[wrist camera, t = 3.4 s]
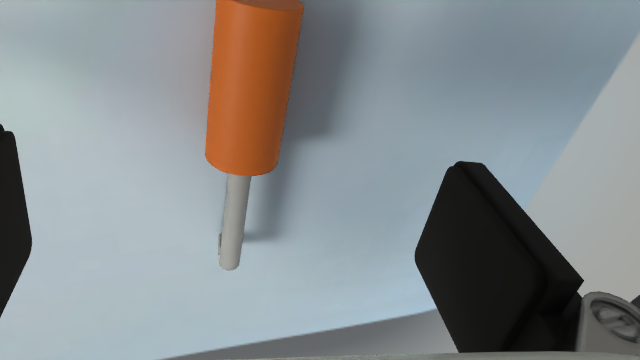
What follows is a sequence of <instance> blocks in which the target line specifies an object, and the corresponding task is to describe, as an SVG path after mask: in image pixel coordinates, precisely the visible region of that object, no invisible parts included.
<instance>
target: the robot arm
mask: <svg viewBox="0 0 640 360" xmlns="http://www.w3.org/2000/svg"><path fill="white" fill-rule="evenodd" d="M31 247H32V237H31V231H30V225H29V219H28V213H27V207H26V201H25V195H24V189H23V183H22V177H21V171H20V165H19V159H18V153H17V147H16V141H15V136H14V134H13V133H12V132H11V131H4V128H3V126H2V125H1V124H0V317H1V315H2V313H3V311H4V308H5V306H6V304H7V302H8V300H9V298H10V296H11V294H12V292H13V289H14V287H15V285H16V283H17V281H18V279H19V277H20V275H21V273H22V270H23V268H24V266H25V264H26V262H27V260H28V258H29V255H30V252H31ZM415 263H416V265H417V267H418V269H419V271H420V274H421V276H422V278H423V280H424V282H425V284H426V286H427V288H428V290H429V292H430V294H431V296H432V298H433V300H434V302H435V304H436V306H437V309H438V311H439V313H440V315H441V317H442V319H443V320H444V323H445V325H446V327H447V329H448V331H449V333H450V335H451V337H452V339H453V341H454V344H455V345H456V348H457V350H458V352H459V353H439V354H401V355H400V354H399V355H362V356H329V357H296V358H263V359H235V360H640V309H638V308H637V307H636V306H634V305H633V304H631V303H629V302H628V301H626V300H624V299H622V298H620V297H617V296H615V295H612V294H609V293H604V292H599V291H598V292H590V293H588V294H586V295H584V297H583V298H582V297H581V296H580V295H579V293H578V292H577V290H578V289H579V287H580V286H581V284H582V283H583V282H584V280H583V279H582V278H581V276H580V275H579V274H578V273H577V272H576V271H575V269H574V268H573V267H572V266H571V265H570V264H569V262H568V261H567V260H566V259H565V258H564V257H563V256H562V255H561V253H560V252H559V251H558V250H557V249H556V247H555V246H554V245H553V244H552V243H551V242H550V240H549V239H548V238H547V237H546V236H545V235H544V234H543V232H542V231H541V230H540V229H539V228H538V227H537V226H536V225H535V223H534V222H533V221H532V220H531V218H530V217H529V216H528V215H527V214H526V213H525V212H524V210H523V209H522V208H521V207H520V206H519V205H518V203H517V202H516V201H515V200H514V199H513V198H512V196H511V195H510V194H509V193H508V192H507V191H506V190H505V188H504V187H503V186H502V185H501V184H500V183H499V181H498V180H497V179H496V178H495V177H494V176H493V175H492V173H491V172H490V171H489V170H488V169H487V168H486V166H485V165H483V164H482V163H476V162H464V161H459V162H457V163H456V164H455V165H454V166H451V167H449V168H448V169H447V171H446V173H445V176H444V179H443V181H442V184H441V186H440V189H439V191H438V194H437V196H436V199H435V201H434V204H433V206H432V209H431V212H430V214H429V217H428V219H427V222H426V224H425V227H424V229H423V232H422V234H421V237H420V240H419V242H418V245H417V247H416V250H415ZM232 360H234V359H232Z"/></svg>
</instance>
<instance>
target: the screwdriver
mask: <svg viewBox="0 0 640 360" xmlns="http://www.w3.org/2000/svg"><path fill="white" fill-rule="evenodd" d="M303 9H304V6H303V4H302V3H301V2H300V1H298V0H216V12H215V25H214V39H213V52H212V66H211V79H210V93H209V106H208V120H207V133H206V147H205V156H206V159H207V161H208V162H209V163H210V164H211V165H212V166H214V167H215V168H217V169H219V170H221V171H223V172H226V173H228V182H227V191H226V200H225V210H224V219H223V229H222V234H220V235H219V240H218V255H219V256H220V257H219V265H220V267H221V268H223V269H225V270H234V269H236V268H237V267H238V266H239V262H240V254H241V247H242V240H243V232H244V225H245V218H246V210H247V203H248V196H249V188H250V181H251V176H257V175H262V174H265V173H268V172H270V171H272V170H273V169H274V168H275V167H276V165H277V163H278V158H279V152H280V146H281V140H282V134H283V128H284V122H285V116H286V110H287V105H288V99H289V93H290V87H291V81H292V75H293V69H294V63H295V57H296V51H297V45H298V39H299V33H300V27H301V21H302V15H303Z"/></svg>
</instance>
